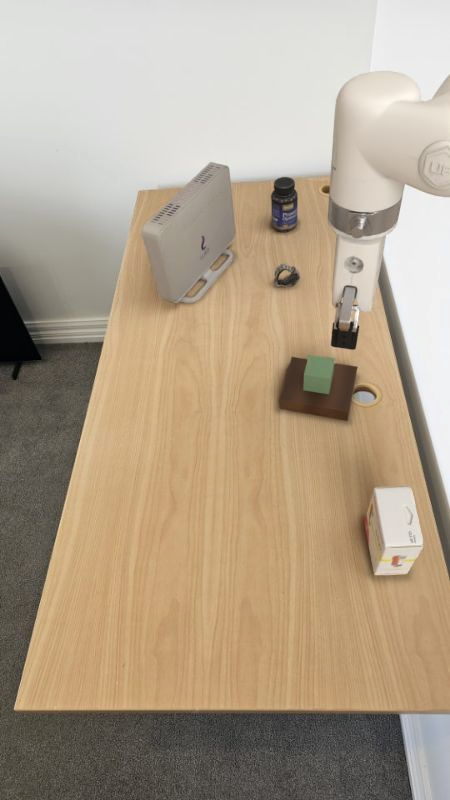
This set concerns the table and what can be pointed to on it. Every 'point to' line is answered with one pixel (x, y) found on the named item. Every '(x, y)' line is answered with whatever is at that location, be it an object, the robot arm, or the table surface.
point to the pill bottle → (284, 204)
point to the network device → (192, 235)
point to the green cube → (318, 374)
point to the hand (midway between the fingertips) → (348, 320)
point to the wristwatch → (291, 279)
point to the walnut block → (315, 402)
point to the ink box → (393, 530)
